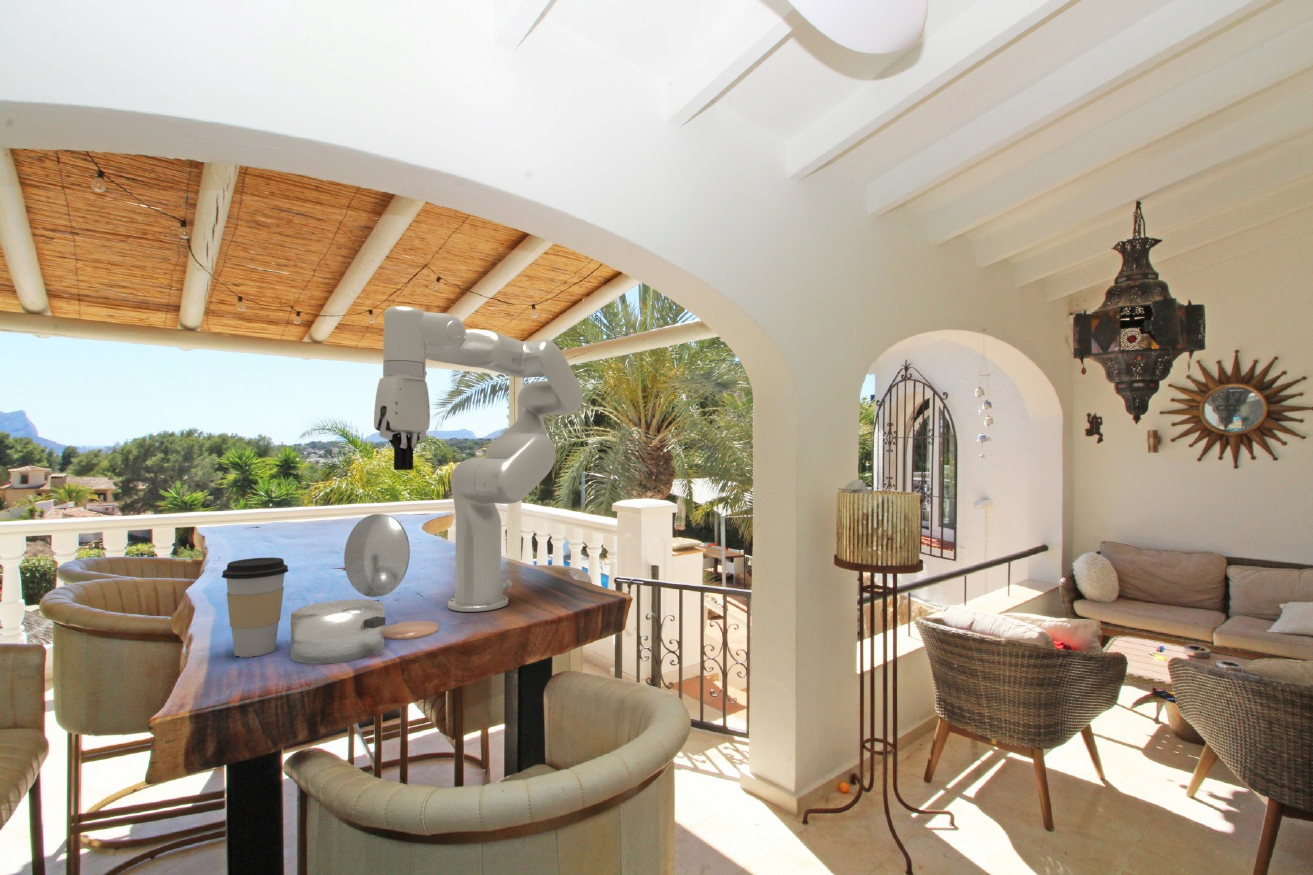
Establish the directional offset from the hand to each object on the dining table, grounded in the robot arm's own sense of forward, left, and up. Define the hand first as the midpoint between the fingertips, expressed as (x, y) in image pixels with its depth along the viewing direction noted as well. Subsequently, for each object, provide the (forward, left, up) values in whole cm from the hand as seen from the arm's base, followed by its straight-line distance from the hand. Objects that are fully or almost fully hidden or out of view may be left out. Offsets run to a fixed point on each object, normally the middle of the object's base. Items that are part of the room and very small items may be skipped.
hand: (403, 469), depth 121 cm
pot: (+14, 0, -30) cm, 33 cm away
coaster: (+1, +3, -30) cm, 30 cm away
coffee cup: (+20, -12, -30) cm, 38 cm away
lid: (+7, 0, -15) cm, 17 cm away
